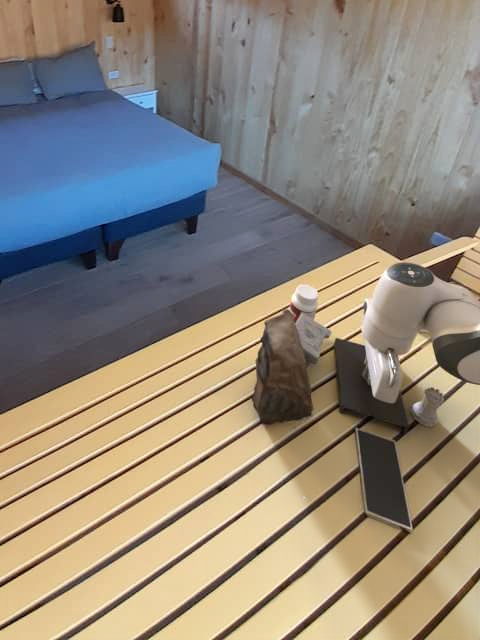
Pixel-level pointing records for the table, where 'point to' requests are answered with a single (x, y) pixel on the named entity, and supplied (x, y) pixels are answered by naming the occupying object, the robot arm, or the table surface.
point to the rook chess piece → (428, 407)
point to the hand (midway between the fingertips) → (369, 374)
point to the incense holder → (311, 337)
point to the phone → (382, 480)
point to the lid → (362, 386)
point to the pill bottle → (304, 302)
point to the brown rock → (282, 373)
